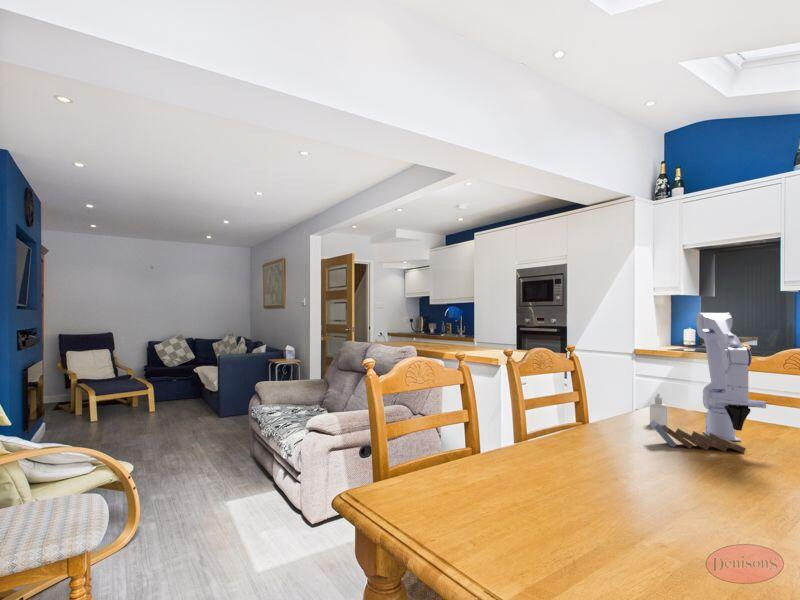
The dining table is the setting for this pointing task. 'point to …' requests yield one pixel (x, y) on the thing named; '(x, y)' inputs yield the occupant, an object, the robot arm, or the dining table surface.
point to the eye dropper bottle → (658, 411)
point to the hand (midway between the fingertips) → (737, 429)
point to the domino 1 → (663, 433)
